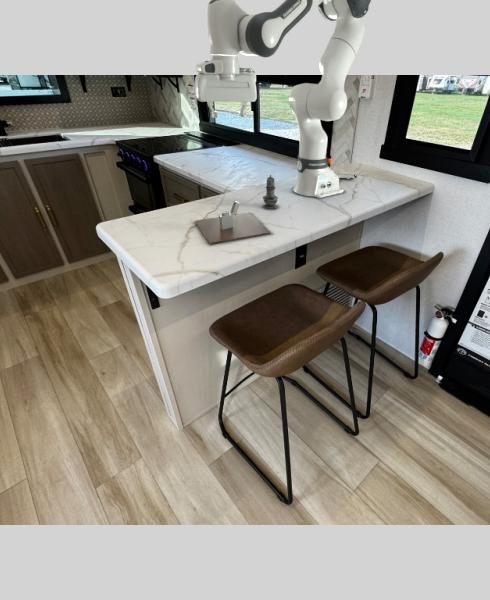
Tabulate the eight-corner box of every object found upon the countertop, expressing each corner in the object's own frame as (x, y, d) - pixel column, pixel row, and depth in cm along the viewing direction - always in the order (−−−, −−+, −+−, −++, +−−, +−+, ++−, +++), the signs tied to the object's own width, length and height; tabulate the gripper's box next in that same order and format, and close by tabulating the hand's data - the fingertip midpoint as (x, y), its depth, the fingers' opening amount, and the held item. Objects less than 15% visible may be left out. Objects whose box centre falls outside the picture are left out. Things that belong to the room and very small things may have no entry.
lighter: (222, 229, 102) (220, 205, 98) (219, 227, 103) (217, 203, 99) (241, 225, 106) (240, 201, 101) (238, 223, 107) (237, 199, 102)
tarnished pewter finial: (270, 203, 125) (271, 171, 118) (281, 207, 122) (282, 175, 115) (259, 206, 122) (259, 174, 115) (269, 210, 119) (269, 178, 112)
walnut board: (250, 214, 115) (250, 212, 115) (270, 234, 103) (270, 232, 102) (195, 222, 108) (195, 220, 107) (210, 244, 95) (210, 243, 95)
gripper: (252, 68, 106) (253, 115, 114) (190, 65, 98) (196, 116, 106) (259, 68, 101) (260, 117, 110) (195, 65, 94) (201, 119, 102)
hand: (228, 117), depth 108 cm, fingers open, 8 cm apart
